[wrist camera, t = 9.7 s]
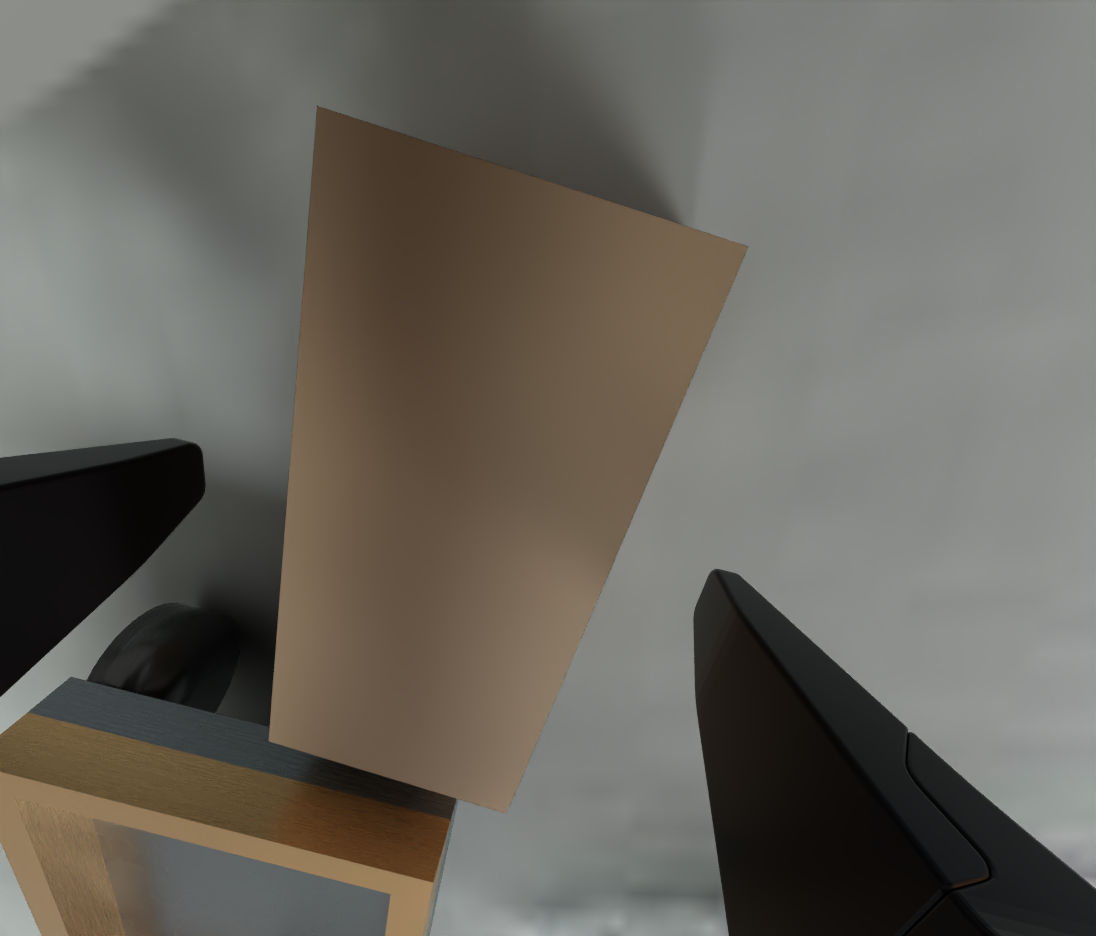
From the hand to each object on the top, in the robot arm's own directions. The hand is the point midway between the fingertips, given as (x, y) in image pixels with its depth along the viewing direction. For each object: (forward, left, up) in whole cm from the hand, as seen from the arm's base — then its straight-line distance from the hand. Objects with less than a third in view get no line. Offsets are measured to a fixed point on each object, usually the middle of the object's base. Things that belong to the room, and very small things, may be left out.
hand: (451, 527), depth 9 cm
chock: (0, 0, -4) cm, 4 cm away
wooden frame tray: (+4, +13, -4) cm, 14 cm away
